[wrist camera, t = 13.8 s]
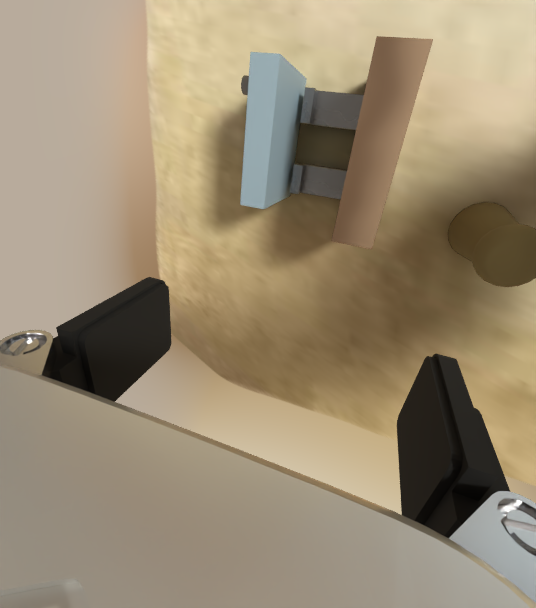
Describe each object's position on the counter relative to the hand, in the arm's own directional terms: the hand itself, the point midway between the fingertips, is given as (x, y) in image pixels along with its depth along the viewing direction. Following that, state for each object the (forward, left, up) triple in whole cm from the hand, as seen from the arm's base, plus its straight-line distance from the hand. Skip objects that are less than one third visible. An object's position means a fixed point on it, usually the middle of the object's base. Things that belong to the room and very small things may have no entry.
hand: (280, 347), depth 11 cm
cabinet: (-1, -6, -30) cm, 31 cm away
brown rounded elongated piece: (-14, 0, -31) cm, 34 cm away
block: (+9, -6, -30) cm, 32 cm away
